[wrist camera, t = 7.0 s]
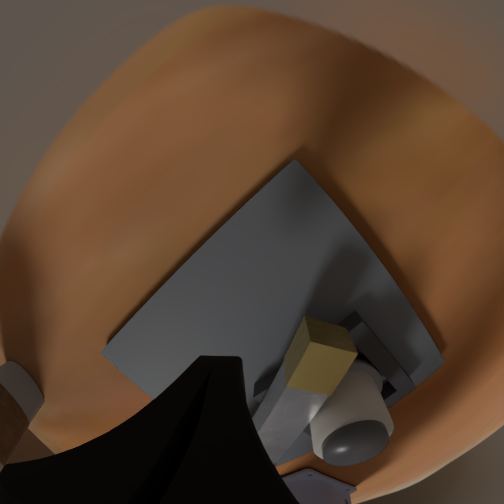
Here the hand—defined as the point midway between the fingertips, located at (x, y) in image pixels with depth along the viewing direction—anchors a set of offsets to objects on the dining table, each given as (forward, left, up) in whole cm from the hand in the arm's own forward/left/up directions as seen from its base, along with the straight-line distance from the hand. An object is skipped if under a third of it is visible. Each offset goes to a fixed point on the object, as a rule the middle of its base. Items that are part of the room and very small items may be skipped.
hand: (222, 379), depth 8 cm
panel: (-5, +1, -6) cm, 8 cm away
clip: (-6, +2, -4) cm, 7 cm away
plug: (-8, -1, -6) cm, 10 cm away
